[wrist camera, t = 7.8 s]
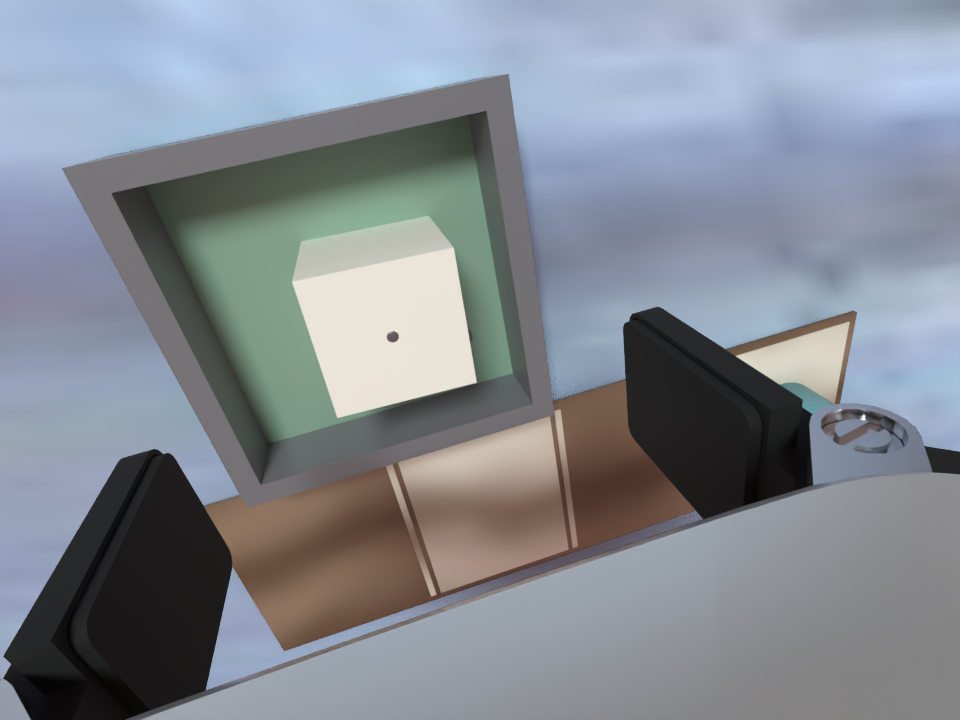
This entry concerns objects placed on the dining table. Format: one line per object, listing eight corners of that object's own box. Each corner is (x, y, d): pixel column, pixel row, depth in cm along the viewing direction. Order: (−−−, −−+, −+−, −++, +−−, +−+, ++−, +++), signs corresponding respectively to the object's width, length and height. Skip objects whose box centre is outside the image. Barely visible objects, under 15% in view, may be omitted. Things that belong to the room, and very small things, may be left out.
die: (301, 241, 18) (291, 282, 14) (436, 214, 19) (464, 246, 15) (338, 362, 20) (340, 426, 16) (458, 333, 21) (487, 389, 17)
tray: (106, 156, 16) (61, 168, 13) (482, 77, 17) (508, 74, 15) (257, 459, 22) (247, 508, 19) (529, 379, 23) (554, 414, 21)
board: (199, 507, 22) (198, 511, 22) (853, 311, 26) (857, 312, 26) (284, 647, 27) (284, 652, 27) (825, 463, 31) (828, 465, 31)
